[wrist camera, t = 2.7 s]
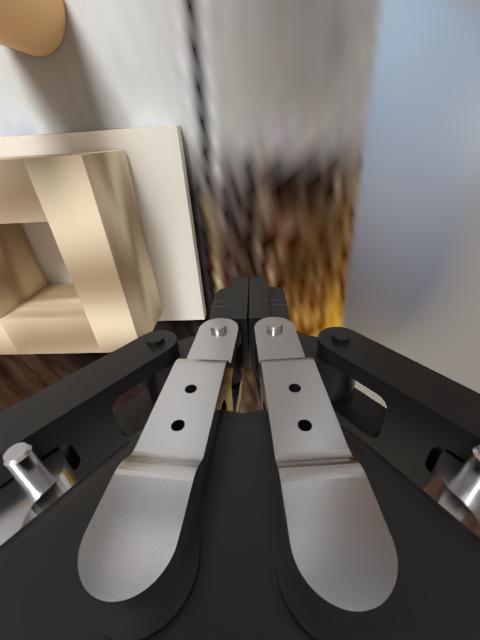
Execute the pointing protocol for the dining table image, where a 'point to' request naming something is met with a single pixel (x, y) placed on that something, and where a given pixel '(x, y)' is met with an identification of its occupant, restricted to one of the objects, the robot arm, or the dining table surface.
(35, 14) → the dowel
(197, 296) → the plate
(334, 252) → the dining table surface
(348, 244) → the dining table surface
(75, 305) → the socket block
